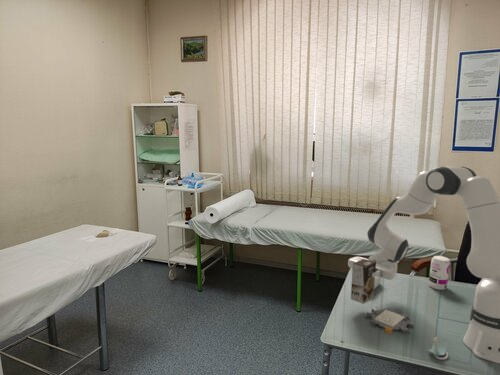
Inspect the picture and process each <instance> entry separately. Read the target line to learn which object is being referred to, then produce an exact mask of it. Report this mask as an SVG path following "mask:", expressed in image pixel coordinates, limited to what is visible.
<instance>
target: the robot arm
mask: <svg viewBox="0 0 500 375" xmlns="http://www.w3.org/2000/svg"><path fill="white" fill-rule="evenodd" d="M438 195H442V196H454V195H456V196H459V197H460V198H461V200H462V202H463V206H464V208H465V213H466V217H467V220H468V223H469V227H470V231H471V232H470V234H471V245H470V247H471V248H470V250H469V253H468V255H467V258H466V266H467V269H468V270H469V272H470V274H472V275H473V276H475V277H476V278H480V281H479V282H478V284H476V288H475V294H474V298H473V300H474V301H473V304H472V306H471V308H470V312H469V318H470V319H469V321H470V322H469V325H468V329H467V330H466V333H465V334H464V337H463V339H462V341H463V344H465V346H466V347H467V348H469V349H470V350H471V351H472V353H473V354H474V355H475V356H476V357H478V358H480V359H483V360H486V361H489V362H493V363H495V364H498V365H500V199H499V196H498V193H497V191H496V189H495V187H494V185H493V184H492V182H491V180H490V179H489V178H487V177H485V176H478V175H477V174H476V172H475V171H474V170H473V169H471V168H469V167H466V166H454V165H446V166H438V167H434V168H432V169H431V170H424V171H421V172H420V173H418V175H416V177H415V178H414V180H413V181H412V182H411V184H410V186H409V188H408V189H407V191H406V193H404V195H402V196H397V197H395V198H394V199H393V200H392V201H391V202H390V203H389V205H387V206H386V208H385V209H384V210H383V212H382V213H381V214H380V215H379V217H378V218H377V220H376V221H375V222H374V223H373V224H372V225H371V226H370V228H369V229H368V231H367V239H368V240H369V242H371V243H372V244H374V245H376V246H378V248H380V249H381V250H380V251H378V252H376V253H374V254H372V255H370V256H369V257H368V258H366V257H362V256H353V257H351V258H349V259H348V261H347V265H348V267H349V268H350V269H353V263H355V262H357V261H359V260H361V259H366V260H370V261H374V262H376V268H375V269H376V271H375V272H371V273H370V277H381V279H382V278H383V279H385V280H388V281H389V280H391V281H392V280H393V279H395V278H396V277H397V274H398V263H399V262H400V261H402V260H403V259H404V258H405V256H406V255H407V253H408V251H409V246H410V245H409V241H408V239H406V238H405V237H404V236H403V235H401V234H399V233H397V232H396V231H394V230H393V229H391V228H389V226H388V223H389V222H390V221H391V219H392V218H393V217H394V216H395V214H397V213H400V214H401V213H402V214H405V215H409V216H420V215H421V216H422V215H424V214H426V213H427V212H428V211H429V210H430V209H431V208H432V206H433V204H434V202H435V201H436V199H437V197H438Z"/></svg>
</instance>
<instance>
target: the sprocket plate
mask: <svg viewBox="0 0 500 375" xmlns="http://www.w3.org/2000/svg"><path fill="white" fill-rule="evenodd" d="M365 316H366V317H365V319H368V320H369V326H371V327H372V328H380V329H382V330H384V333H385V334H390V335H391V334H393V332H399V333H401V334H402V335H406V334H409V333H410V329H414V324H415V323H414V321H411V320H409V318H410V317H409V315H408V314H406V313H405V312H402V313H399V312H398V311H394V308H390V307H386V309H381V308H378V307H372V308H371V312H369V311H368V312H366V315H365ZM409 328H410V329H409Z"/></svg>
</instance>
